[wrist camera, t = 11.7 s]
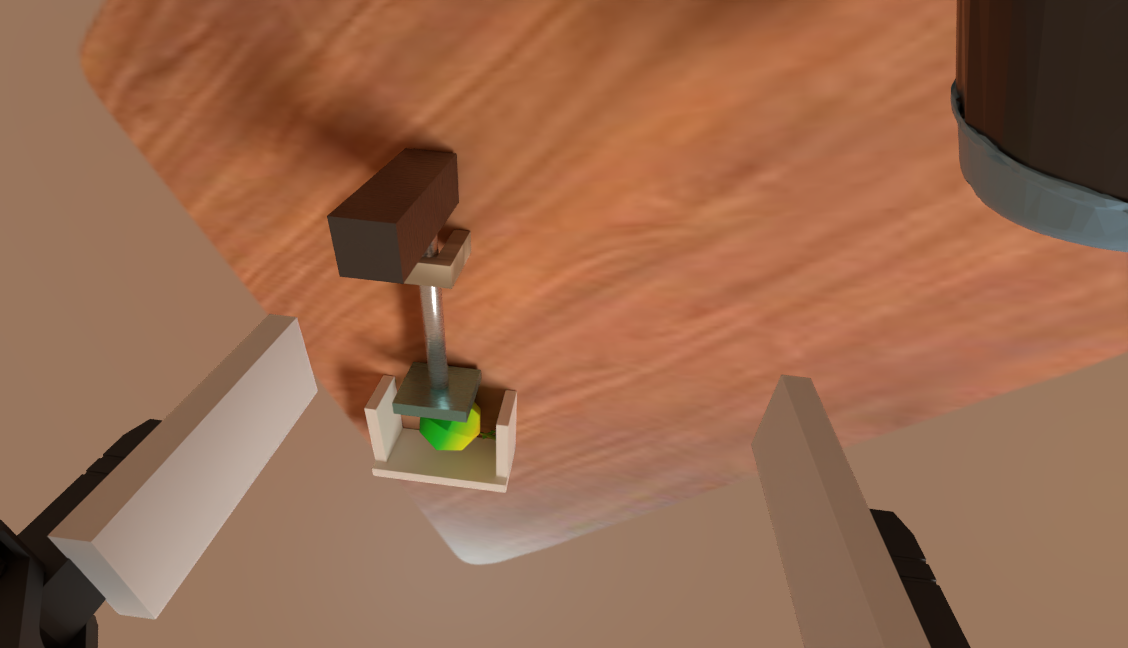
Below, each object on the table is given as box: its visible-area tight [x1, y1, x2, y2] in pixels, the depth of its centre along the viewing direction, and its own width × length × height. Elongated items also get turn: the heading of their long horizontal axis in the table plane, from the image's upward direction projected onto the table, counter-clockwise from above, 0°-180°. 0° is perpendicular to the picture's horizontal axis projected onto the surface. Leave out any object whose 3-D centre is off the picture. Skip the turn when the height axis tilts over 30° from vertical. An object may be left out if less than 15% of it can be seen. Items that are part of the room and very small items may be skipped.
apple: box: [419, 402, 496, 450], centre depth 54 cm, size 7×6×9 cm
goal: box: [364, 375, 517, 493], centre depth 55 cm, size 9×14×6 cm, turn 86°
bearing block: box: [404, 229, 471, 289], centre depth 42 cm, size 2×6×6 cm, turn 86°
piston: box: [327, 148, 481, 423], centre depth 41 cm, size 23×7×13 cm, turn 176°
